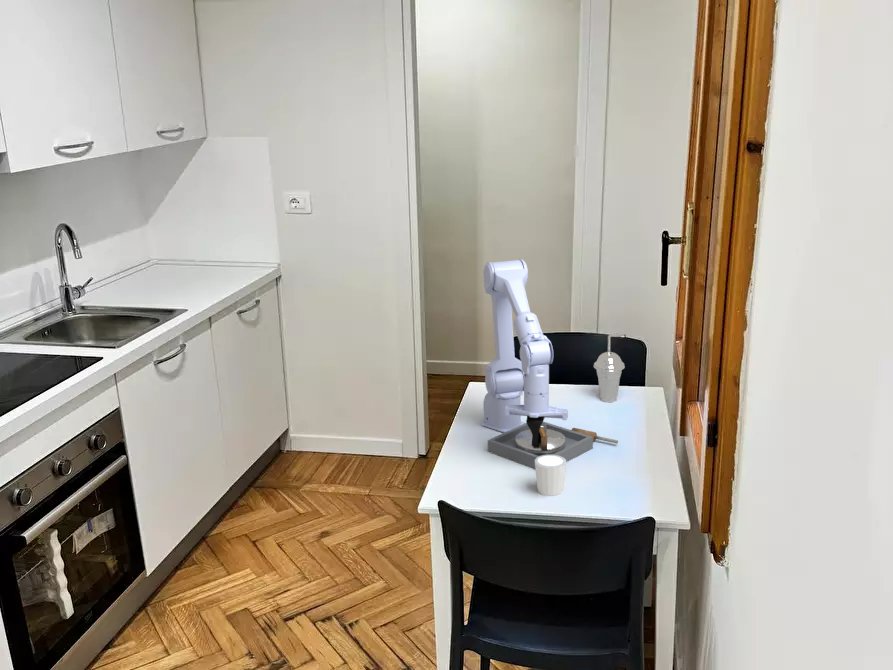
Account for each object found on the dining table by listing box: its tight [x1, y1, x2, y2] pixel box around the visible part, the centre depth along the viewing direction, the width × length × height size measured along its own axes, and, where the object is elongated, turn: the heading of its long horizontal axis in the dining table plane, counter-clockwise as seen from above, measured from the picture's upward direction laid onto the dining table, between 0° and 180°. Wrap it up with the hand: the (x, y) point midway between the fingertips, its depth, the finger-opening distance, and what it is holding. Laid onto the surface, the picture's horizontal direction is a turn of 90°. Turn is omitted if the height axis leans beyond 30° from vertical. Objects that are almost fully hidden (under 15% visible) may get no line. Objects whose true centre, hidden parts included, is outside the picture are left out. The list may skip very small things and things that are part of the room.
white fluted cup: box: [535, 455, 567, 497], centre depth 180 cm, size 7×7×7 cm
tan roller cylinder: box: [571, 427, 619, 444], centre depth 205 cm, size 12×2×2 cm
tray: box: [487, 421, 594, 470], centre depth 201 cm, size 18×18×3 cm
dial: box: [515, 423, 565, 455], centre depth 200 cm, size 14×12×5 cm
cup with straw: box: [593, 333, 626, 403], centre depth 230 cm, size 8×9×20 cm
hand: (536, 445), depth 196 cm, fingers closed, pressing on dial
